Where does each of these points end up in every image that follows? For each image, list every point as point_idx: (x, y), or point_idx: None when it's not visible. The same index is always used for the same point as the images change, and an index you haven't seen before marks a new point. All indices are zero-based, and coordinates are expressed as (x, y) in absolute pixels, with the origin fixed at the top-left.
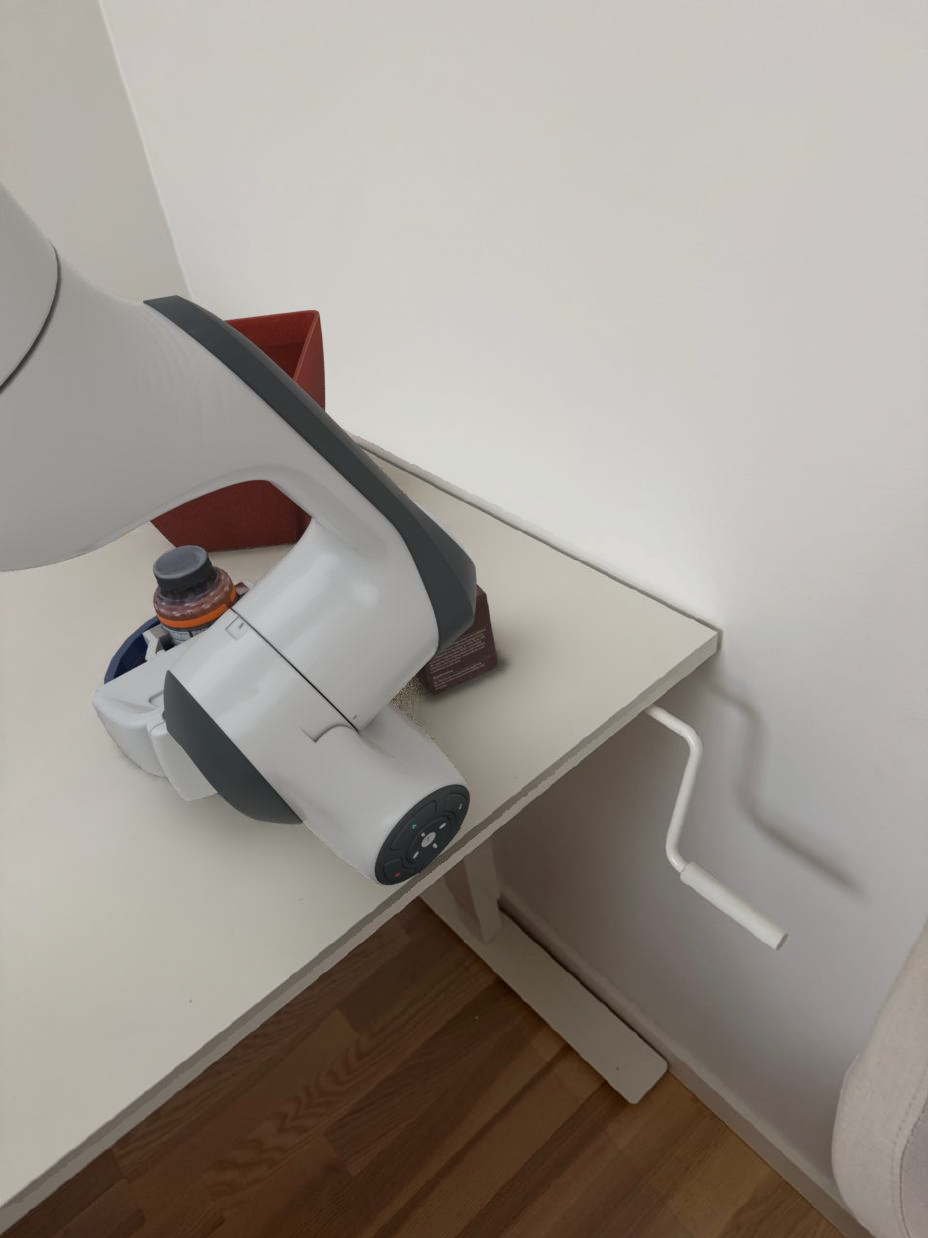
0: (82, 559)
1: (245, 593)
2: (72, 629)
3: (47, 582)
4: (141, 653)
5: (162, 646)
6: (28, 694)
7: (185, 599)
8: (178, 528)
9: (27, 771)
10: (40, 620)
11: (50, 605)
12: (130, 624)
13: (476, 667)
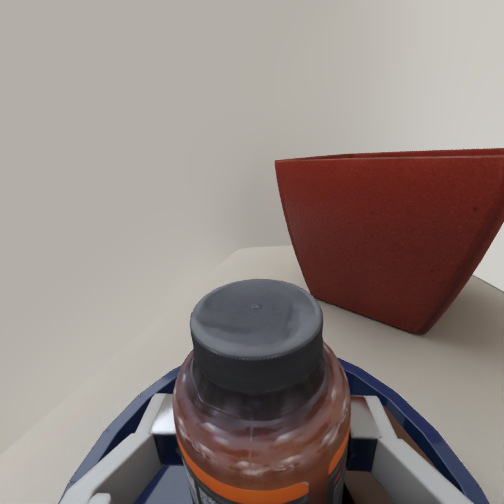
0: (255, 272)
1: (366, 440)
2: None
3: (229, 276)
4: None
5: (155, 450)
6: (140, 346)
7: (215, 408)
8: (316, 276)
9: (35, 441)
10: (204, 295)
11: None
12: None
13: None
